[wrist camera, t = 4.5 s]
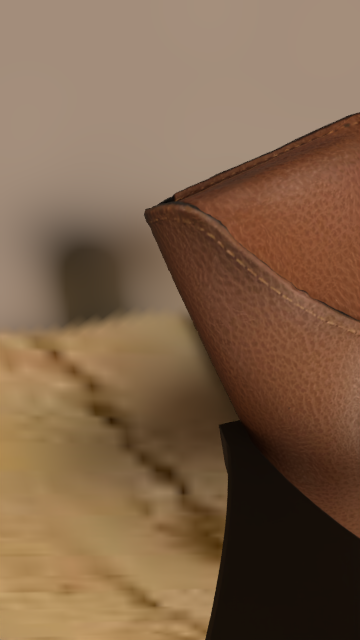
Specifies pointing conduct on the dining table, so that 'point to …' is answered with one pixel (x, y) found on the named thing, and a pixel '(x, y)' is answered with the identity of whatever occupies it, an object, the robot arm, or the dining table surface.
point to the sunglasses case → (282, 302)
